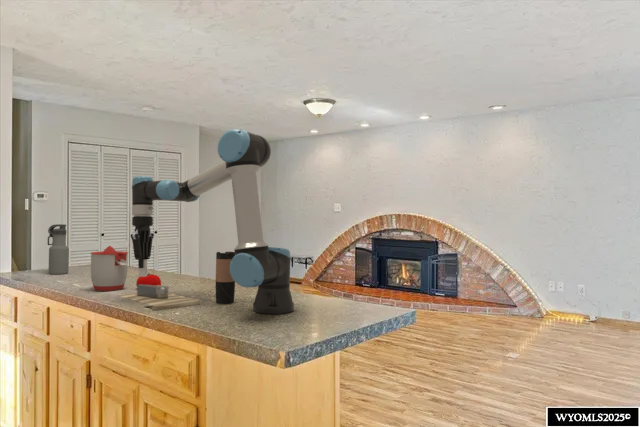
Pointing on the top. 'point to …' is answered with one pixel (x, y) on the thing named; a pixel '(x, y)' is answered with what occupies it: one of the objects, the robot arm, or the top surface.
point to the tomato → (149, 280)
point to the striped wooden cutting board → (163, 301)
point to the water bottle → (58, 250)
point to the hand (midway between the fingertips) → (142, 276)
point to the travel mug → (224, 278)
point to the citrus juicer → (108, 269)
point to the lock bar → (152, 291)
